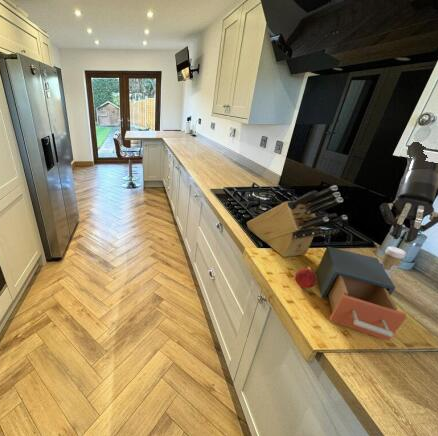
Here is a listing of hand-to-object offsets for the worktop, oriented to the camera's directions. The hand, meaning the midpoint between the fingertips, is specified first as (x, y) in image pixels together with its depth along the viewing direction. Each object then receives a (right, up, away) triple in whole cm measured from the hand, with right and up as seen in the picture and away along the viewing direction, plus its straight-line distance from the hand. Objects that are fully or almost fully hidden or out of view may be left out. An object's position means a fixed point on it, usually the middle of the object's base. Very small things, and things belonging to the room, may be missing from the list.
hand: (402, 239), depth 66 cm
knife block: (-14, -6, +36) cm, 39 cm away
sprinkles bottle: (+10, -17, +17) cm, 26 cm away
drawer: (-13, -22, +1) cm, 26 cm away
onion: (-20, -17, +13) cm, 29 cm away
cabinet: (-7, -18, +12) cm, 23 cm away
